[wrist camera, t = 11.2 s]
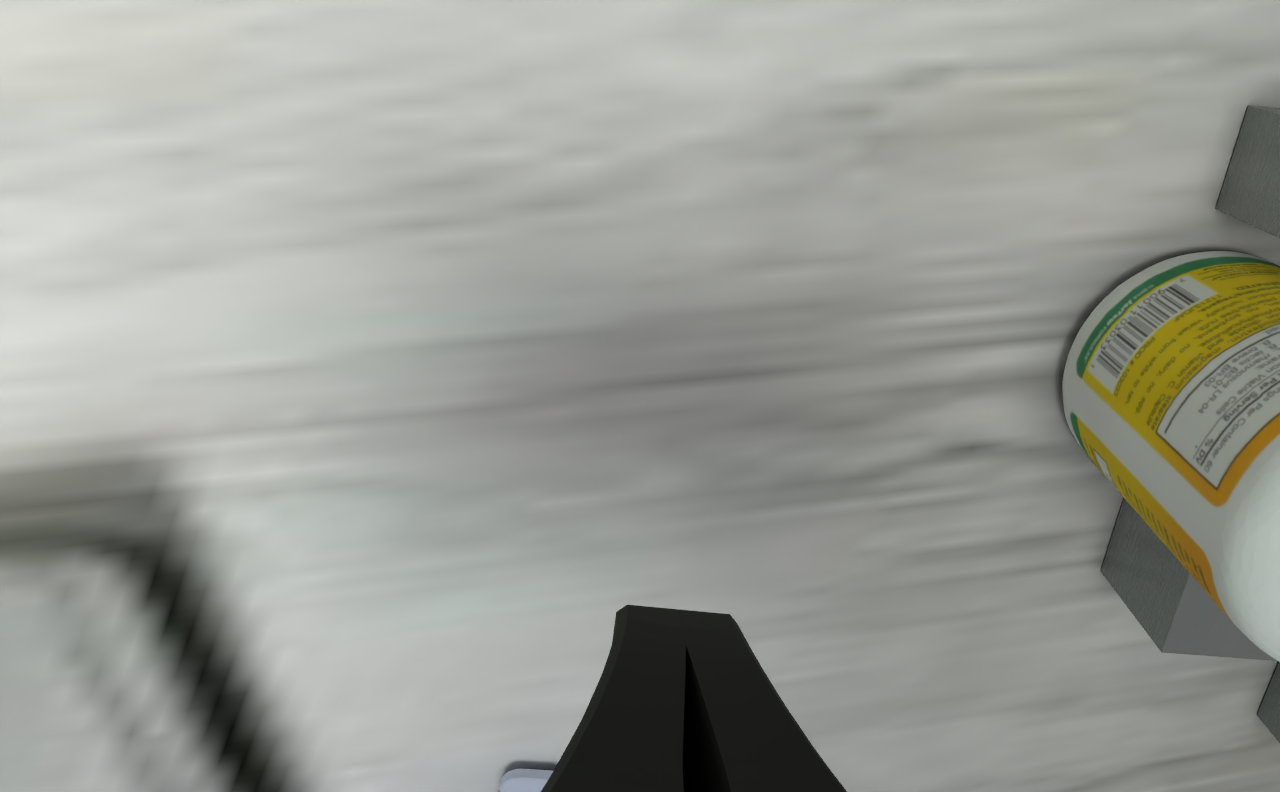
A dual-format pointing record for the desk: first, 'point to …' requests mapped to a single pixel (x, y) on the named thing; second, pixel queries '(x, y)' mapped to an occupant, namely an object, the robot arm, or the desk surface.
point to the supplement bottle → (1193, 420)
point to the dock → (1136, 558)
